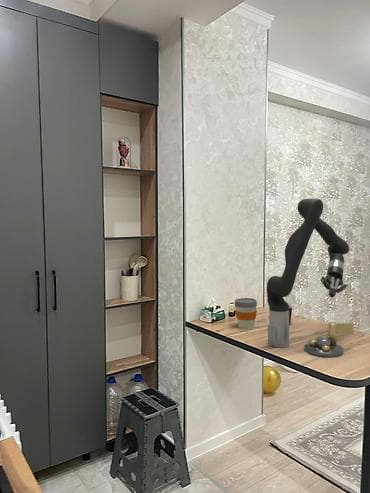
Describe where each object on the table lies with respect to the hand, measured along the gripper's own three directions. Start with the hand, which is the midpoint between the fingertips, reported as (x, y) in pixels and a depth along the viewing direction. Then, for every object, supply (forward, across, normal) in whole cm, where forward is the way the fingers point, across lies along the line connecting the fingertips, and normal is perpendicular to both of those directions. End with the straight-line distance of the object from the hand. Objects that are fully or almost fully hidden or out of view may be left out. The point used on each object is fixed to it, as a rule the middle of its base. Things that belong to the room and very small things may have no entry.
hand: (332, 296), depth 185 cm
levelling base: (+22, +4, +13) cm, 26 cm away
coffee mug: (-10, -11, +46) cm, 48 cm away
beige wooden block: (+17, +10, +12) cm, 23 cm away
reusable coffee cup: (+2, -31, +46) cm, 55 cm away
